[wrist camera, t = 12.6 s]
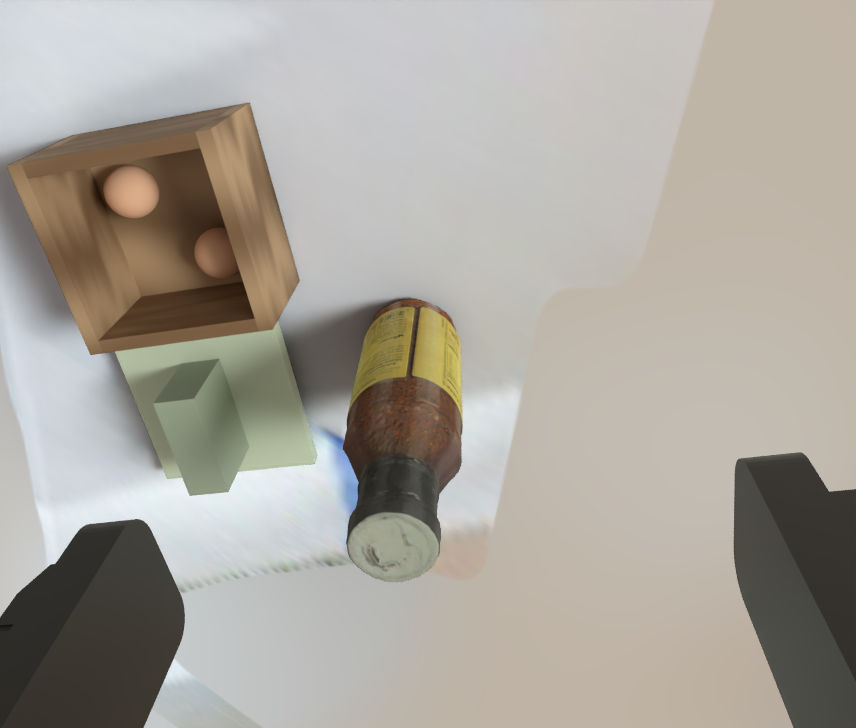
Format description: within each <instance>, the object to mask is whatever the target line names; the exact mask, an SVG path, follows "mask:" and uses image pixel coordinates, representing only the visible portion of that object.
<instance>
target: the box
mask: <svg viewBox="0 0 856 728" xmlns="http://www.w3.org/2000/svg"><path fill="white" fill-rule="evenodd" d="M123 165H135V166H139V167H141V168H143V169H145V170H147V171H148V172H149V173H150V174H151V175H152V176H153V177H154V178H155V180H156V182H157V184H158V187H159V200H158V203H157V205H156V207H155V208H154V210H153V211H152V212H151V213H149V214H148V215H146V216H144V217H140V218H127V217H123V216H121V215H119V214H117V213H116V212H114V211H113V210H112V209H111V208H110V207H109V205H108V204H107V202H106V200H105V197H104V192H103V187H104V182H105V179H106V178H107V176H108V175H109V173H110V172H111V171H113V170H114V169H115V168H117V167H120V166H123ZM7 168H8V170H9V173H10V175H11V177H12V179H13V182H14V184H15V186H16V188H17V191H18V193H19V195H20V197H21V200H22V202H23V204H24V206H25V209H26V211H27V213H28V215H29V218H30V220H31V222H32V224H33V227H34V229H35V231H36V233H37V236H38V238H39V240H40V242H41V245H42V247H43V249H44V251H45V254H46V256H47V258H48V260H49V263H50V265H51V267H52V269H53V272H54V274H55V276H56V278H57V281H58V283H59V285H60V287H61V290H62V292H63V294H64V296H65V299H66V301H67V303H68V305H69V308H70V310H71V312H72V314H73V317H74V319H75V321H76V323H77V326H78V328H79V330H80V332H81V335H82V337H83V339H84V341H85V344H86V346H87V348H88V350H89V353H90V355H94V354H101V353H109V352H116V351H123V350H130V349H137V348H145V347H152V346H159V345H166V344H173V343H181V342H188V341H195V340H202V339H209V338H217V337H224V336H231V335H238V334H245V333H253V332H260V331H267V330H273V328H274V327H275V325H276V323H277V321H278V319H279V317H280V316H281V314H282V312H283V310H284V308H285V306H286V305H287V303H288V301H289V299H290V297H291V296H292V294H293V292H294V290H295V288H296V286H297V285H298V283H299V281H300V280H299V277H298V273H297V269H296V266H295V262H294V259H293V255H292V252H291V248H290V245H289V241H288V237H287V234H286V230H285V227H284V223H283V220H282V216H281V213H280V209H279V205H278V202H277V198H276V195H275V191H274V188H273V184H272V181H271V177H270V173H269V170H268V166H267V163H266V159H265V156H264V152H263V149H262V145H261V142H260V138H259V134H258V131H257V127H256V124H255V120H254V117H253V113H252V110H251V106H250V103H246V104H240V105H235V106H229V107H224V108H218V109H213V110H208V111H202V112H197V113H191V114H186V115H181V116H175V117H170V118H164V119H159V120H153V121H148V122H143V123H137V124H132V125H126V126H121V127H116V128H110V129H105V130H99V131H94V132H89V133H83V134H78V135H72V136H70V137H68V138H66V139H64V140H61V141H59V142H57V143H55V144H53V145H51V146H49V147H46V148H44V149H42V150H40V151H38V152H36V153H33V154H31V155H29V156H27V157H25V158H23V159H20V160H18V161H16V162H14V163H12V164H10V165H8V166H7ZM212 228H226V230H227V233H228V236H229V239H230V242H231V246H232V249H233V252H234V255H235V258H236V261H237V264H238V267H239V272H238V273H237V274H235V275H234V276H232V277H229V278H214V277H211V276H209V275H207V274H206V273H204V272H203V271H202V270H201V269H200V267H199V266H198V264H197V262H196V259H195V254H194V250H195V245H196V242H197V240H198V239H199V237H200V236H201V235H202V234H203V233H204V232H206V231H207V230H210V229H212Z"/></svg>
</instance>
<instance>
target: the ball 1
mask: <svg viewBox="0 0 856 728" xmlns="http://www.w3.org/2000/svg"><path fill="white" fill-rule="evenodd" d="M103 192H104V197H105V200H106V202H107V204H108V205H109V207H110V208H111V209H112V210H113V211H114V212H116V213H117V214H119V215H121V216H123V217H127V218H140V217H144V216H146V215H148V214H149V213H151V212H152V211H153V210H154V208H155V207H156V205H157V203H158V200H159V187H158V184H157V182H156V180H155V178H154V177H153V176H152V175H151V174H150V173H149V172H148V171H147V170H145V169H143V168H141V167H139V166H135V165H123V166H120V167H117V168H115V169H114V170H113V171H111V172H110V173H109V175H108V176H107V178H106V179H105V182H104V187H103Z"/></svg>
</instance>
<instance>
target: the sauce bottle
mask: <svg viewBox="0 0 856 728" xmlns="http://www.w3.org/2000/svg"><path fill="white" fill-rule="evenodd" d="M462 427H463V421H462V375H461V342H460V339H459V336H458V334H457V332H456V329H455V327H454V325H453V322H452V319H451V318H450V316H449V315H448V314H447V313H446V312H444V311H443V310H441V309H440V308H439V307H437V306H434V305H432V304H430V303H428V302H424V301H421V300H417V299H406V300H401V301H397V302H395V303H394V304H391V305H389V306H386V307H385V308H383V309H382V310H381V311H379V312H378V313H377V315H376V316H375V318H374V320H373V322H372V323H371V325H370V328H369V329H368V331H367V333H366V335H365V339H364V343H363V347H362V352H361V356H360V361H359V365H358V369H357V374H356V378H355V383H354V388H353V392H352V397H351V402H350V407H349V412H348V417H347V431H346V435H345V441H344V445H343V450H344V451H345V453H346V454H347V456H348V458H349V461H350V463H351V465H352V468H353V470H354V472H355V475H356V477H357V479H358V482H359V484H358V501H357V506H356V509H355V510H354V511H353V513H352V514H351V516H350V519H349V524H348V535H347V542H346V544H347V549H348V554H349V557H350V559H351V560H352V561H353V562H354V563H355V564H356V566H357V567H358V568H360V569H361V570H362V571H363V572H365V573H367V574H369V575H370V576H372V577H374V578H376V579H380V580H383V581H387V582H403V581H407V580H410V579H413V578H416V577H419V576H421V575H422V574H423V573H425V572H427V571H428V570H429V569H430V568H431V567H432V566H433V565H434V564H435V562H436V559H437V557H438V556H439V553H440V540H441V528H440V522H439V521H438V518H437V503H438V499H439V494H440V493H441V491H442V490H443V489H444V487H445V486H446V485H447V484H448V482H449V481H450V480H451V479H452V478H453V477H455V475H456V474H457V473H458V471H459V469H460V466H461V463H462V461H461V434H462Z"/></svg>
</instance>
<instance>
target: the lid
mask: <svg viewBox="0 0 856 728" xmlns="http://www.w3.org/2000/svg"><path fill="white" fill-rule="evenodd" d="M115 353H116V356H117V358H118V361H119V363H120V366H121V368H122V370H123V373H124V375H125V378H126V380H127V383H128V385H129V387H130V390H131V392H132V395H133V397H134V400H135V402H136V404H137V407H138V409H139V412H140V414H141V417H142V419H143V421H144V424H145V426H146V429H147V431H148V434H149V436H150V438H151V441H152V443H153V446H154V448H155V451H156V453H157V455H158V458H159V460H160V463H161V465H162V467H163V470H164V472H165V475H166V477H167V479H171V478H180V477H182V478H183V480H184V483H185V485H186V488H187V490H188V493H189V495H190V496H192V495H202V494H212V493H223V492H228V491H229V489H230V487H231V485H232V483H233V481H234V479H235V476H236V474H237V472H239V471H249V470H259V469H269V468H279V467H288V466H298V465H308V464H315V461H316V458H317V452H316V449H315V446H314V442H313V439H312V435H311V432H310V428H309V425H308V421H307V418H306V415H305V411H304V408H303V404H302V401H301V397H300V394H299V390H298V387H297V384H296V380H295V377H294V373H293V370H292V366H291V363H290V360H289V356H288V353H287V349H286V346H285V342H284V339H283V335H282V332H281V329H280V325H279V322H278V321H277V323H276V325H275V327H274V328H273V330H267V331H260V332H253V333H245V334H238V335H231V336H224V337H217V338H209V339H202V340H195V341H188V342H181V343H173V344H166V345H159V346H152V347H145V348H137V349H130V350H123V351H116V352H115Z"/></svg>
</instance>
